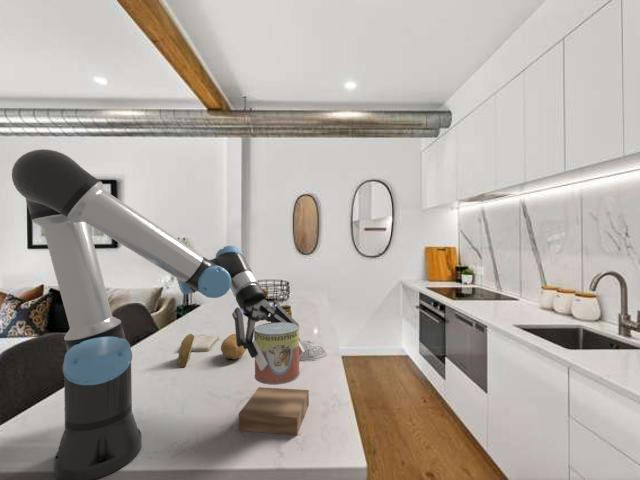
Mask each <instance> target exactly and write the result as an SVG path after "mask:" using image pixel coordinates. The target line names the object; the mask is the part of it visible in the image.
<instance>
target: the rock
mask: <svg viewBox="0 0 640 480" xmlns="http://www.w3.org/2000/svg"><path fill="white" fill-rule="evenodd" d="M194 336H195V335H194V334H193V333H189V334H187V335H186V336H185V337H184V338H183V339H182V341H181V344H180V346H179V349H178V357H177V360H176V363H177V365H178V367H179V368H186V367H187V365H188V362H189V361H190V359H191V355H192V354H191V353H192V352H191V349H192V344H193V340H194Z"/></svg>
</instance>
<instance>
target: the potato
mask: <svg viewBox="0 0 640 480" xmlns="http://www.w3.org/2000/svg"><path fill="white" fill-rule="evenodd" d="M220 351H221V353H222V355H223V356H225V357H226V358H227V359H230V360H235V361H236V360H237V359H239V358H241V357H242V356H243V355H244V354H245V352H246V351H247V349H244V348H243V346H240V347H238V346H237V342H236V333H231V334H230V335H228V336H227V337H226V338H225V339H224V340H223V341H222V343H221V345H220Z"/></svg>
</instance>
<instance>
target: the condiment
mask: <svg viewBox="0 0 640 480" xmlns="http://www.w3.org/2000/svg"><path fill="white" fill-rule="evenodd" d="M280 306H281V307H282V308H283V309H284V310H285V311H286V312H287V313H288V314H289V315H290V316H291V317H292V318H293V314H292V313H293V312H292V306H291V305H290V304H286V305H285V304H284V305H280Z"/></svg>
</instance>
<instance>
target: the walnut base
mask: <svg viewBox="0 0 640 480" xmlns="http://www.w3.org/2000/svg"><path fill="white" fill-rule="evenodd" d="M309 394H310V393H309V389H295V388H294V389H293V388H292V389H291V388H280V387H276V388H275V387H264V386H263V387H262V386H261V387H260V386H259V387H258V388H257V389H256V390H255V392H254V393H253V394H252V396H250V398H249V399H248V401H247V402H246V403H245V405H244V406H243V408H242V409H241V410H240V411H239V413H238V430H239V431H242V432H243V431H244V432H253V433H254V432H255V433H267V434H268V433H269V434H281V435H292V436H295V435H296V436H298V435H299V431H300V429H301V426H302V424H303V421H304V418H305V416H306V413H307V411H308V408H309V405H310V404H309V402H310V398H309V397H310V396H309Z"/></svg>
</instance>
